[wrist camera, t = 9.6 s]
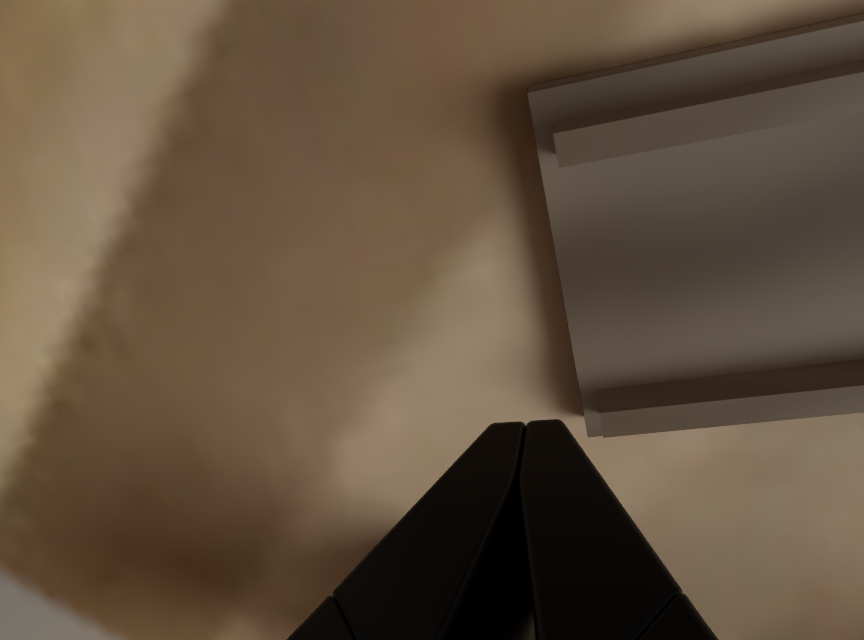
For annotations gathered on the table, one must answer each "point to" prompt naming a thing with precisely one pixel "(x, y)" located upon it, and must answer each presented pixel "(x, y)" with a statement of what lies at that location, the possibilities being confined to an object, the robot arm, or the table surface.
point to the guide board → (712, 230)
